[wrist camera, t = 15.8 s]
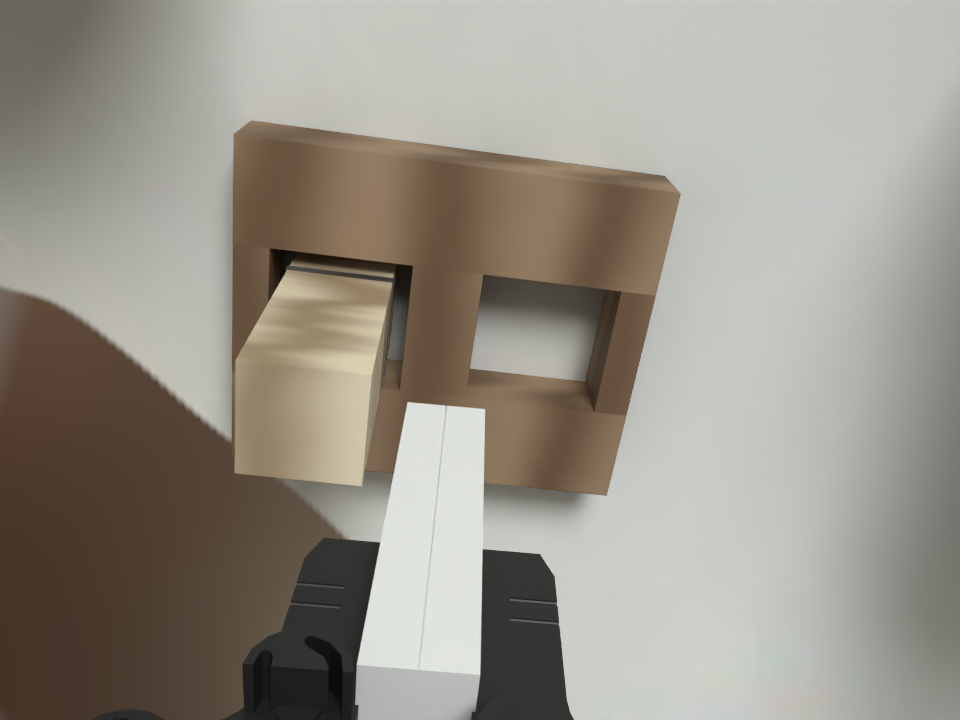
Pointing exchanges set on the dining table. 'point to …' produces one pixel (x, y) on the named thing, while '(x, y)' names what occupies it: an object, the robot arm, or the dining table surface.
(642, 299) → the walnut board
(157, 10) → the dining table surface
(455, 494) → the robot arm
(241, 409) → the beech peg
